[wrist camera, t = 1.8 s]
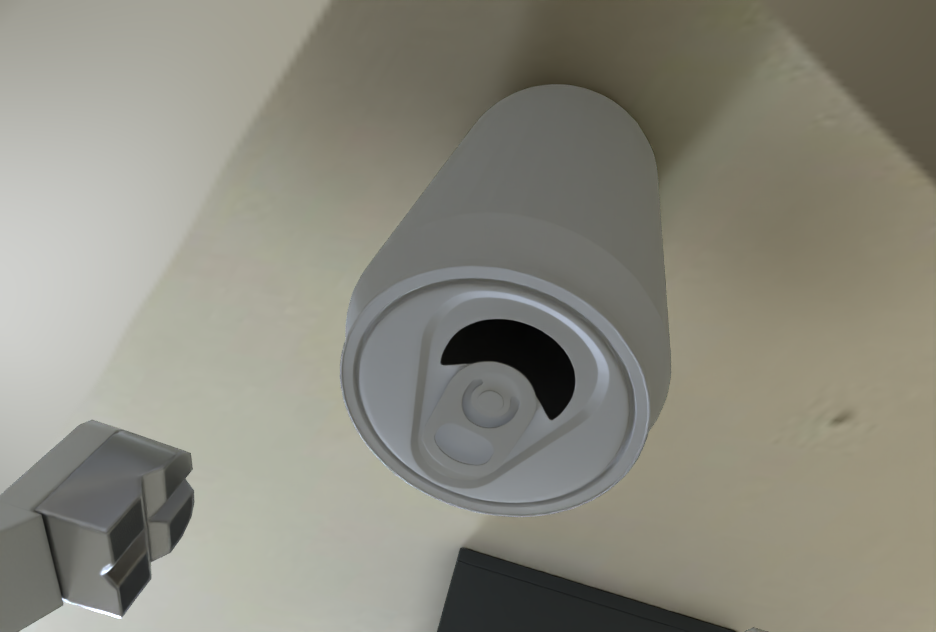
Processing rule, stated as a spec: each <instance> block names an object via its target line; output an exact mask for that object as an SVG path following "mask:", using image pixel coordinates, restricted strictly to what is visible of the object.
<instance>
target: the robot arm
mask: <svg viewBox="0 0 936 632" xmlns="http://www.w3.org/2000/svg"><path fill="white" fill-rule="evenodd" d="M192 470H193V468H192V459H191V453H189V452H186V451H184V450H181V449H178V448H175V447H172V446H169V445H166V444H163V443H160V442H157V441H155V440H152V439H149V438H146V437H143V436H140V435H137V434H134V433H131V432H128V431H125V430H122V429H119V428H116V427H113V426H110V425H107V424H104V423H101V422H98V421H95V420H90V421H88V422H85V423H83V424H80V425H79V426H77V427H76V428H75V429H74V430H73V431H72V432H71V433H69V434H68V435H67V436H66V437H65V438H64V439H63V440H62V441H60V442H59V443H58V444H57V445H56V446H55V447H54V448H53V449H51V450H50V451H49V452H48V453H47V454H46V455H45V456H43V457H42V458H41V459H40V460H39V461H38V462H37V463H36V464H35V465H33V466H32V467H31V468H30V469H29V470H28V471H27V472H25V473H24V474H23V475H22V476H21V477H20V478H19V479H18V480H16V481H15V482H14V483H13V484H12V485H11V486H10V487H9V488H7V489H6V490H5V491H4V492H3V493H2V494H1V495H0V632H19V631H20V630H22V629H24V628H25V627H27V626H29V625H31V624H32V623H34V622H36V621H37V620H39V619H41V618H42V617H44V616H46V615H47V614H49V613H51V612H53V611H54V610H56V609H58V608H59V607H61V606H63V601H65V602H68V603H71V604H74V605H78V606H81V607H84V608H87V609H91V610H94V611H97V612H100V613H104V614H107V615H110V616H113V617H117V618H120V619H121V618H122V617H123V615H124V614H125V613H126V611H127V610H128V609H129V607H130V606H131V605H132V603H133V602H134V601H135V599H136V598H137V597H138V595H139V594H140V593H141V591H142V590H143V589H144V588H145V586H146V585H147V584H148V582H149V581H150V580H151V562H152V561H154V560H156V559H158V558H160V557H163V556H165V555H167V554H169V553H171V551H172V550H173V549H174V547H175V546H176V544H177V543H178V542H179V540H180V539H181V537H182V536H183V534H184V532H185V529H186V527H187V525H188V523H189V521H190V519H191V516H192V511H193V506H194V490H193V489H192V487H191V486H190V485H189V483H188V482H187V481H186V479H185V478H186V477H187V476H188V475H189V473H190V472H191V471H192ZM745 632H768V631H765V630H761V629H758V628H755V627H753V628H751V629H748V630H746V631H745Z"/></svg>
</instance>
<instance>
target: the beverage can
mask: <svg viewBox="0 0 936 632" xmlns="http://www.w3.org/2000/svg"><path fill="white" fill-rule="evenodd" d="M670 378H671V350H670V336H669V323H668V309H667V295H666V281H665V267H664V253H663V239H662V226H661V212H660V198H659V184H658V171H657V165H656V161H655V156H654V153H653V150H652V148H651V146H650V144H649V142H648V140H647V138H646V136H645V135H644V133H643V131H642V130H641V128H640V126H639V125H638V123H637V122H636V121H635V120H634V119H633V118H632V117H631V116H630V114H629V113H627V112H626V111H625V110H624V109H623V108H622V107H621V106H619V105H618V104H617V103H615V102H614V101H612V100H611V99H609V98H607V97H605V96H603V95H601V94H599V93H597V92H594V91H592V90H589V89H586V88H582V87H577V86H573V85H562V84H549V85H541V86H535V87H530V88H527V89H524V90H521V91H518V92H516V93H513V94H511V95H509V96H507V97H506V98H504V99H502V100H500V101H499V102H497V103H496V104H494V105H493V106H492V107H491V108H490V109H488V110H487V111H486V112H485V113H484V114H483V115H482V116H481V117H480V118H479V119H478V121H477V122H476V123H475V124H474V126H473V127H472V128H471V129H470V131H469V132H468V133H467V135H466V136H465V137H464V139H463V140H462V141H461V143H460V144H459V145H458V147H457V148H456V149H455V151H454V152H453V153H452V155H451V156H450V157H449V159H448V160H447V161H446V163H445V164H444V165H443V167H442V168H441V169H440V171H439V172H438V173H437V175H436V176H435V177H434V179H433V180H432V181H431V183H430V184H429V185H428V187H427V188H426V189H425V191H424V192H423V193H422V195H421V196H420V197H419V199H418V200H417V201H416V202H415V204H414V205H413V206H412V208H411V209H410V210H409V212H408V213H407V214H406V216H405V217H404V218H403V220H402V221H401V222H400V224H399V225H398V226H397V228H396V229H395V230H394V232H393V233H392V234H391V236H390V237H389V238H388V240H387V241H386V242H385V244H384V245H383V246H382V248H381V249H380V250H379V252H378V253H377V254H376V256H375V257H374V258H373V260H372V261H371V262H370V264H369V265H368V266H367V268H366V269H365V270H364V272H363V274H362V275H361V277H360V279H359V281H358V283H357V285H356V286H355V288H354V291H353V294H352V297H351V300H350V304H349V308H348V312H347V319H346V340H345V343H344V346H343V350H342V355H341V362H340V382H341V389H342V395H343V399H344V402H345V406H346V409H347V411H348V414H349V416H350V418H351V420H352V422H353V424H354V426H355V428H356V430H357V432H358V433H359V435H360V436H361V438H362V439H363V441H364V442H365V443H366V445H367V446H368V447H369V449H370V450H371V451H372V452H373V453H374V455H375V456H376V457H377V458H378V459H379V460H380V461H381V462H382V463H383V464H384V465H385V466H386V467H387V468H389V469H390V470H391V471H392V472H393V473H394V474H396V475H397V476H398V477H400V478H401V479H402V480H404V481H405V482H407V483H408V484H409V485H411V486H413V487H414V488H416V489H418V490H420V491H421V492H423V493H425V494H427V495H429V496H431V497H433V498H435V499H437V500H440V501H442V502H444V503H447V504H450V505H452V506H455V507H458V508H462V509H465V510H469V511H473V512H477V513H482V514H488V515H496V516H507V517H531V516H541V515H548V514H553V513H559V512H562V511H566V510H570V509H572V508H575V507H578V506H581V505H583V504H585V503H587V502H590V501H592V500H593V499H595V498H597V497H599V496H601V495H602V494H604V493H605V492H607V491H608V490H610V489H611V488H612V487H613V486H614V485H616V484H617V483H618V482H619V481H620V480H621V479H622V478H623V477H624V476H625V475H626V474H627V473H628V472H629V471H630V469H631V468H632V466H633V465H634V464H635V462H636V461H637V459H638V457H639V456H640V453H641V451H642V449H643V447H644V444H645V442H646V439H647V436H648V432H649V431H650V429H651V428H652V426H653V425H654V423H655V422H656V420H657V418H658V416H659V414H660V412H661V410H662V408H663V405H664V403H665V400H666V397H667V394H668V389H669V384H670Z"/></svg>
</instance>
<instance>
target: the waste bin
mask: <svg viewBox="0 0 936 632" xmlns="http://www.w3.org/2000/svg"><path fill="white" fill-rule="evenodd" d="M437 632H735V631H731V630H728V629H725V628H722V627H718V626H715V625H712V624H709V623H705V622H702V621H699V620H695V619H692V618H689V617H686V616H682V615H679V614H676V613H673V612H669V611H666V610H663V609H660V608H656V607H653V606H650V605H647V604H643V603H640V602H637V601H633V600H630V599H627V598H624V597H620V596H617V595H614V594H611V593H607V592H604V591H601V590H598V589H594V588H591V587H588V586H585V585H581V584H578V583H575V582H571V581H568V580H565V579H562V578H558V577H555V576H552V575H549V574H545V573H542V572H539V571H536V570H532V569H529V568H526V567H523V566H519V565H516V564H513V563H509V562H506V561H503V560H500V559H496V558H493V557H490V556H487V555H483V554H480V553H477V552H474V551H470V550H467V549H464V548H460V551H459V554H458V558H457V561H456V565H455V569H454V572H453V576H452V580H451V583H450V587H449V590H448V594H447V598H446V601H445V605H444V608H443V612H442V616H441V619H440V623H439V626H438V630H437Z"/></svg>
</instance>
